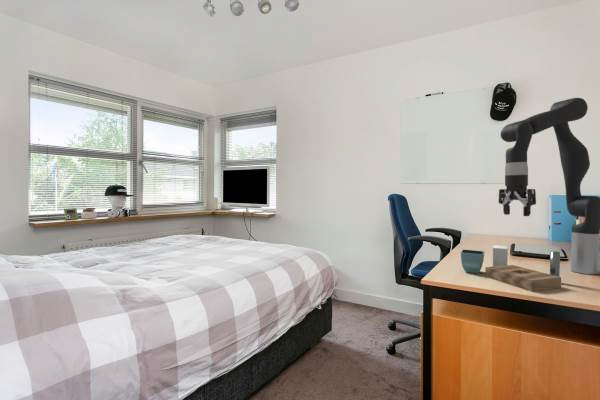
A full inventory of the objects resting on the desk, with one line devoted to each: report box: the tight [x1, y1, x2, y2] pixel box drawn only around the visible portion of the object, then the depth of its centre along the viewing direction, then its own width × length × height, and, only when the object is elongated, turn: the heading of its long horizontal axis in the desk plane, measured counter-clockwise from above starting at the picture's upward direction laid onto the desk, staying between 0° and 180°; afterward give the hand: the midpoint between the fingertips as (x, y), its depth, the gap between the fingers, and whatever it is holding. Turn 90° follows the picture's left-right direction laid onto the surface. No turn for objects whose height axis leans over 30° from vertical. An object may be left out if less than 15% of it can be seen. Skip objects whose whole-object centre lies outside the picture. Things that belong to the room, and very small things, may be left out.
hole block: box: [484, 264, 562, 292], centre depth 125 cm, size 20×14×4 cm
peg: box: [549, 250, 561, 277], centre depth 125 cm, size 3×3×12 cm
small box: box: [492, 245, 509, 267], centre depth 144 cm, size 8×6×10 cm
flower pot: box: [460, 248, 485, 274], centre depth 141 cm, size 9×9×9 cm
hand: (516, 215), depth 127 cm, fingers open, 8 cm apart
